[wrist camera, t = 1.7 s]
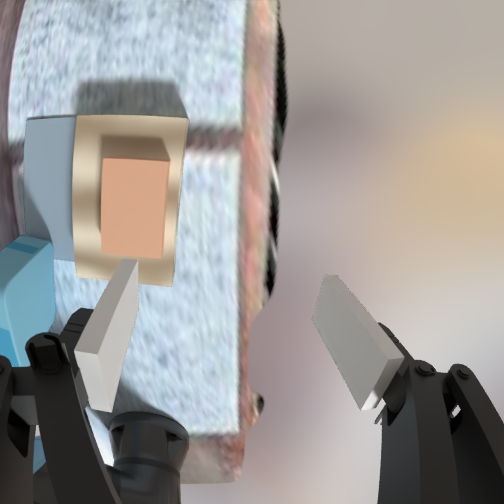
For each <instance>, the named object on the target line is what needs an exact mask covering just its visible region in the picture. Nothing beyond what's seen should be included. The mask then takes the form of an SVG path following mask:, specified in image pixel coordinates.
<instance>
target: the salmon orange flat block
mask: <svg viewBox="0 0 504 504" xmlns="http://www.w3.org/2000/svg"><path fill="white" fill-rule="evenodd" d="M170 163H171V160H166V159H152V158H135V157H113V156H109V157H106V158H103V168H102V189H101V249H102V253H105V254H115V255H126V256H137V257H148V258H159V259H161V258H162V254H163V251H164V235H165V219H166V205H167V193H168V182H169V172H170Z"/></svg>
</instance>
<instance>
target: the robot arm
mask: <svg viewBox="0 0 504 504" xmlns="http://www.w3.org/2000/svg"><path fill="white" fill-rule="evenodd" d="M138 312H139V290H138V260H134V259H124V258H123V259H122V260H121V262H120V264H119V266H118V267H117V269H116V271H115V273H114V274H113V276H112V278H111V280H110V281H109V283H108V285H107V287H106V289H105V290H104V292H103V294H102V296H101V298H100V300H99V301H98V303H97V305H96V307H95V309H94V310H93V309H86V308H80V309H78V310H77V311H76V312H74V313H73V314H72V315H71V317H70V318H69V320H68V322H67V324H66V325H65V327H64V329H63V331H62V332H61V334H60V336H59V335H58V334H55V333H52V332H42V333H39V334H36V335H34V336H32V337H31V338H30V339H29V340H28V341H27V342H26V345H25V351H26V354H27V357H28V359H29V362H30V365H31V366H27V367H12V364H11V362H10V360H9V359H8V358H7V357H6V356H3V355H0V504H181V494H180V470H181V468H182V465H183V462H184V460H185V457H186V455H187V452H188V450H189V435H188V433H187V431H186V430H185V429H184V428H183V427H182V426H181V425H180V424H178V423H176V422H175V421H173V420H171V419H168V418H166V417H163V416H160V415H156V414H151V413H144V412H130V413H124V414H121V415H118V416H116V417H115V418H114V419H113V420H112V422H111V425H110V430H109V438H110V443H111V448H112V453H113V458H114V465H113V467H112V466H109V465H107V464H104V461H103V459H102V456H101V454H100V451H99V448H98V446H97V443H96V440H95V437H94V434H93V431H92V428H91V425H90V422H89V419H88V416H87V413H86V410H85V408H86V404H87V401H89V404H90V407H91V409H95V410H100V411H106V412H112V409H113V405H114V400H115V396H116V392H117V388H118V384H119V379H120V376H121V372H122V368H123V364H124V360H125V356H126V353H127V349H128V346H129V342H130V339H131V335H132V332H133V328H134V325H135V322H136V318H137V315H138ZM312 321H313V323H314V325H315V327H316V328H317V330H318V332H319V334H320V336H321V337H322V339H323V341H324V343H325V345H326V347H327V348H328V351H329V352H330V354H331V356H332V358H333V360H334V362H335V364H336V365H337V367H338V369H339V371H340V373H341V375H342V376H343V379H344V380H345V382H346V384H347V386H348V388H349V390H350V392H351V394H352V395H353V397H354V399H355V401H356V403H357V405H358V407H359V409H360V410H366V409H372V408H376V407H377V405H378V404H379V402H380V400H381V399H382V398H383V400H384V401H385V403H386V405H385V406H384V408H383V409H382V411H381V412H380V414H379V415H378V417H377V418H376V420H375V424H377V423H378V422H379V420H380V419H381V418H382V422H381V424H380V425H382V449H381V467H380V481H379V493H378V503H377V504H504V423H503V421H502V420H501V418H500V416H499V414H498V412H497V411H496V409H495V407H494V406H493V404H492V402H491V400H490V399H489V397H488V395H487V394H486V392H485V391H484V389H483V387H482V386H481V384H480V383H479V381H478V379H477V378H476V376H475V375H474V373H473V372H472V371H471V370H470V369H469V368H468V367H467V366H465V365H462V364H453V365H452V366H451V368H450V370H449V371H448V373H441V372H437V371H436V369H435V368H434V367H433V366H432V365H430V364H429V363H427V362H425V361H422V360H414V359H413V357H412V356H411V355H410V354H409V353H408V351H407V350H406V349H405V348H404V346H403V345H402V344H401V343H399V340H398V339H397V338H396V337H395V336H394V334H393V333H392V332H391V331H390V330H389V328H387V327H386V326H384V325H383V324H381V323H377V322H376V321H375V319H374V318H373V317H372V316H371V315H370V313H369V312H368V311H367V310H366V309H365V307H364V306H363V305H362V304H361V303H360V301H359V300H358V299H357V298H356V297H355V295H354V294H353V293H352V292H351V291H350V290H349V288H348V287H347V286H346V285H345V284H344V282H343V281H342V280H341V279H340V278H339V277H338V276H337V275H324V278H323V281H322V285H321V288H320V292H319V296H318V299H317V303H316V306H315V310H314V313H313V316H312ZM457 405H459V407H460V409H461V410H460V411H459V413H458V414H457V415H456V416H455V417H454V416H453V414H452V412H453V411H454V409H455V408H456V407H457ZM36 425H39V430H40V436H36V437H35V431H36Z"/></svg>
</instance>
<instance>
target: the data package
mask: <svg viewBox="0 0 504 504" xmlns="http://www.w3.org/2000/svg"><path fill="white" fill-rule="evenodd" d="M55 315H56V303H55V290H54V271H53V246H52V243H51V242H50V241H46V240H42V239H38V238H34V237H30V236H25V235H21V236H19V237H18V238H17V239H15V240H14V241H13V242H12V243H10V244H9V245H8V246H7V247H5V248H4V249H3V250H2V251H1V252H0V355H3V356H6V357H7V358H8V359H9V360H10V362H11V364H12V366H13V367H27V366H29V365H30V362H29V359H28V357H27V354H26V351H25V345H26V342H27V341H28V340H29V339H30V338H31V337H32V336H34V335H36V334H39V333H42V332H48V330H49V329H50V327H51V325H52V323H53V322H54V319H55Z"/></svg>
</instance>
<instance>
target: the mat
mask: <svg viewBox="0 0 504 504" xmlns="http://www.w3.org/2000/svg"><path fill="white" fill-rule="evenodd" d="M76 121H77V117H66V118H49V119H36V120H26V131H25V145H24V211H25V226H26V236H30V237H34V238H38V239H42V240H46V241H50V242H51V243H52V246H53V259H56V260H65V261H73V262H75V256H74V241H73V218H72V179H73V156H74V142H75V131H76Z"/></svg>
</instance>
